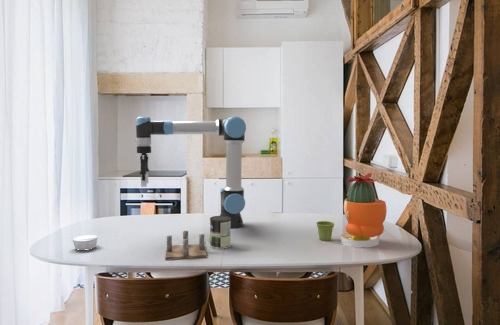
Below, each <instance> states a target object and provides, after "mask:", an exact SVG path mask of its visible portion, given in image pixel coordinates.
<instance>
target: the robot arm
mask: <svg viewBox="0 0 500 325" xmlns="http://www.w3.org/2000/svg"><path fill="white" fill-rule="evenodd" d="M135 130H136V131H135V132H136V133H135V134H136V139H135V142H136V154H140V158H139V159H140V172H139V175H140V187H142V188H143V187H144V188H147V186H148V185H147V184H149V172H150V169H149V156H148V154H151V153H152V146H151V145H152V135H157V136H159V135H160V136H161V135H163V136H168V135H217V137H218V136H219V137H220V136H223V141H224V143H226V149H225V150H226V155H225V156H226V157H225V159H226V164H225V171H226V172H225V187H221V189H220V213H219V214H220V215H219V216H228V217H231V229H235V228H240V227H243V225H244V220H243V217H242V213H241V212H242V211H243V210H244V209H245V206H246V201H245V189H244V187H243V186H242V164H243V162H242V159H243V158H242V155H243V154H242V153H243V151H242V150H243V147H242V145H243V143H245V141H246V140H245V134H246V130H247V124H246V122H245V120H244V119H243V118H242V117H240V116H237V115H234V116H230V117H227V118H220V119H219V118H218V119H216V120H183V121H180V120H179V121H177V120H176V121H175V120H173V121H172V120H151V116H138V117H136V119H135Z"/></svg>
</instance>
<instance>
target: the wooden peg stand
mask: <svg viewBox="0 0 500 325" xmlns="http://www.w3.org/2000/svg"><path fill="white" fill-rule="evenodd" d="M172 237H173V236H172V235H167V236H166V250H165V256H164V257H165V258H164V259H165V261H167V260H166V259H174V260H186V259H185V258H192V259H206V258H207V252H206V251H207V250H206V247H205V246H206V245H205V243H206V242H205V234H204V233H200V234H198V238H199V242H198V243H194V244H193V243H191V244H189V231H188V230H183V231H182V244H177V245H176V244H174V245H173V238H172Z"/></svg>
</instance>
